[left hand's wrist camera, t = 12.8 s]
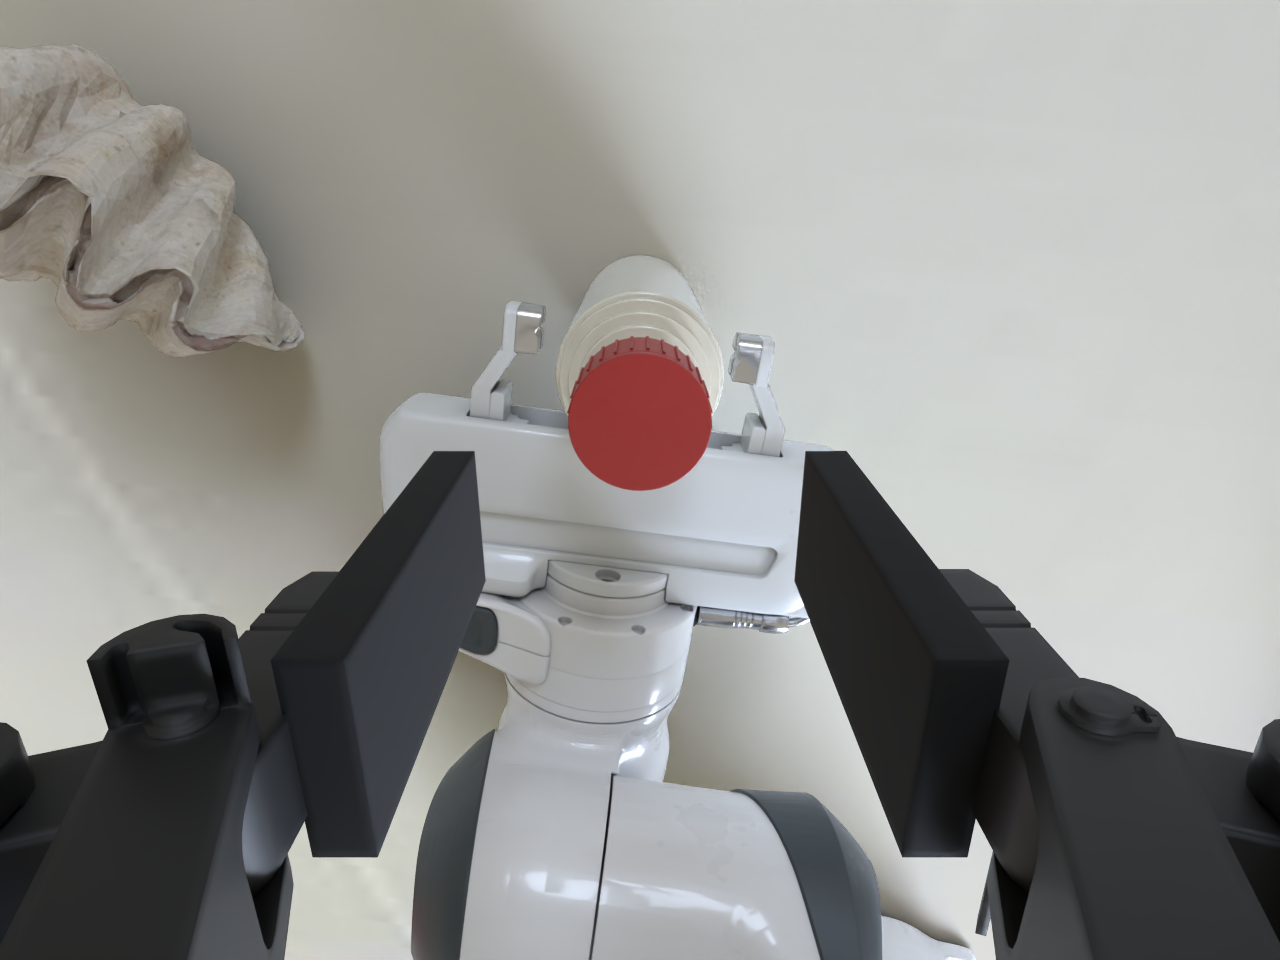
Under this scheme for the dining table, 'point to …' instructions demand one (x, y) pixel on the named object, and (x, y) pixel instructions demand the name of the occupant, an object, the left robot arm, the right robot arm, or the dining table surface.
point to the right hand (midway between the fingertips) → (641, 320)
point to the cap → (639, 414)
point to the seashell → (125, 211)
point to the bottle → (639, 321)
